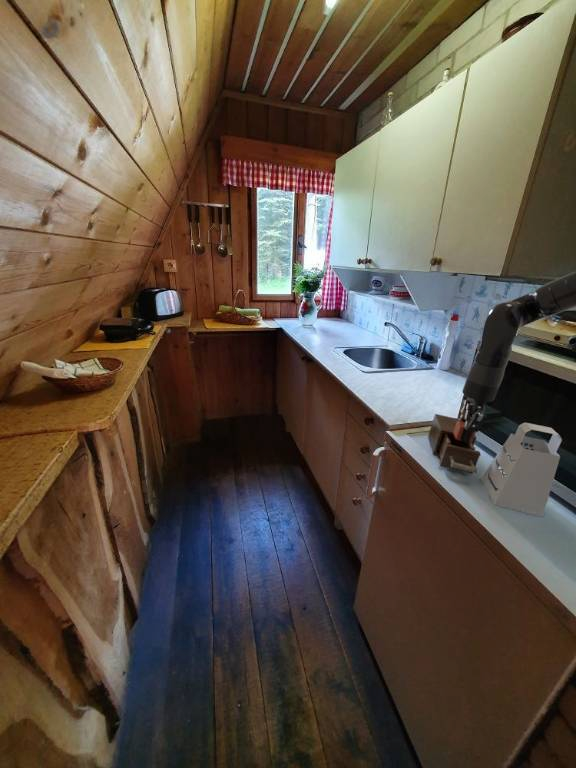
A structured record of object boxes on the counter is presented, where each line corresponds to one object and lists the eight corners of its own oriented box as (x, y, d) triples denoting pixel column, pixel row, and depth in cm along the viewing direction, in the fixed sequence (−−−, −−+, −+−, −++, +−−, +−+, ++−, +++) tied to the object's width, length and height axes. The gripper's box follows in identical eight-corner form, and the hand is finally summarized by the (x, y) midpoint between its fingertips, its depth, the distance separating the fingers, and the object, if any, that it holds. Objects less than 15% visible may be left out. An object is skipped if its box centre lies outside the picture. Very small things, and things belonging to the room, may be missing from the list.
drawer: (477, 485, 80) (486, 463, 77) (442, 476, 82) (450, 455, 79) (463, 454, 94) (470, 434, 91) (434, 447, 96) (440, 428, 93)
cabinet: (467, 462, 91) (476, 437, 88) (433, 454, 93) (441, 430, 90) (458, 443, 102) (466, 420, 99) (428, 436, 104) (435, 413, 101)
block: (468, 435, 87) (472, 423, 86) (471, 442, 84) (476, 430, 82) (452, 432, 88) (457, 420, 87) (455, 439, 84) (460, 426, 83)
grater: (481, 478, 84) (508, 414, 77) (523, 488, 82) (555, 423, 75) (494, 504, 75) (526, 434, 68) (542, 516, 73) (581, 445, 65)
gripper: (509, 393, 72) (484, 453, 79) (490, 375, 85) (470, 428, 91) (475, 386, 74) (453, 446, 80) (461, 369, 87) (443, 422, 93)
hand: (462, 436), depth 86 cm, fingers closed on block, 4 cm apart
